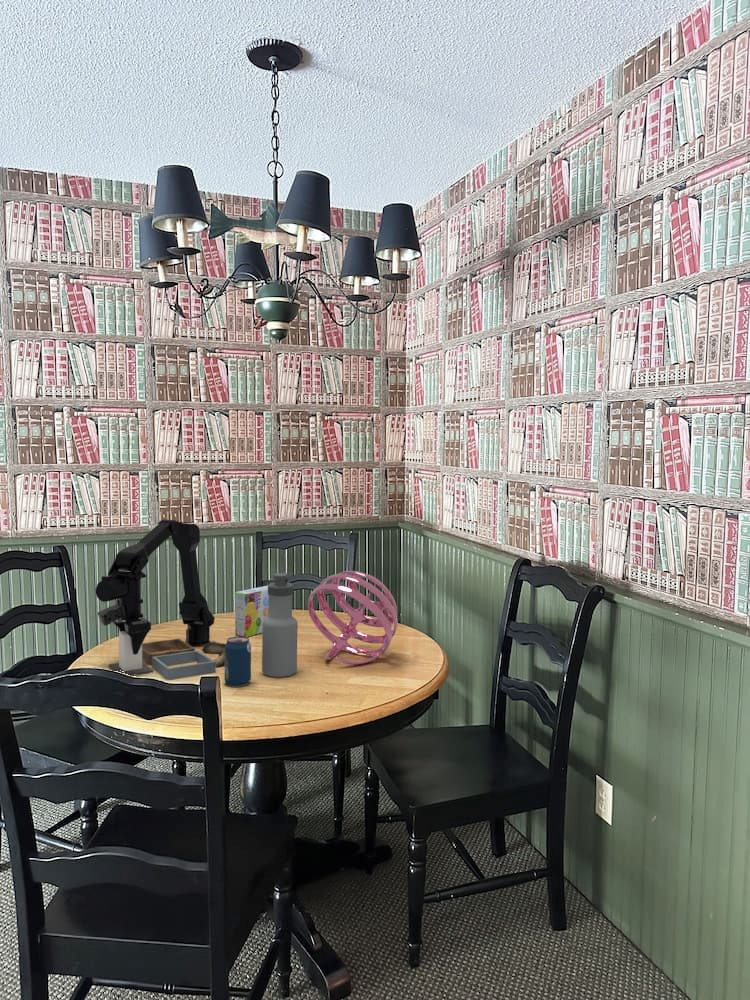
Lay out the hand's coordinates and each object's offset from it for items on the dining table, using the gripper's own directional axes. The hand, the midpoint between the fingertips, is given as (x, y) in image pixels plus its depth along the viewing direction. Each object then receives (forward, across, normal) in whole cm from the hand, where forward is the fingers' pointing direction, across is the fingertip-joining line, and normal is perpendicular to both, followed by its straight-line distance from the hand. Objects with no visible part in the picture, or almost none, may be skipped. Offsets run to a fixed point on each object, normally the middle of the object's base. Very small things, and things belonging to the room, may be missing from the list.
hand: (130, 650), depth 205 cm
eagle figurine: (+6, +7, +24) cm, 26 cm away
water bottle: (+6, +24, +34) cm, 42 cm away
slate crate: (+5, +8, +12) cm, 16 cm away
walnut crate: (+5, -8, +12) cm, 16 cm away
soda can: (+6, +27, +20) cm, 34 cm away
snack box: (+6, -22, +52) cm, 56 cm away
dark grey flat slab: (+5, 0, 0) cm, 5 cm away
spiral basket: (+6, +23, +60) cm, 65 cm away
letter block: (+5, 0, 0) cm, 5 cm away
